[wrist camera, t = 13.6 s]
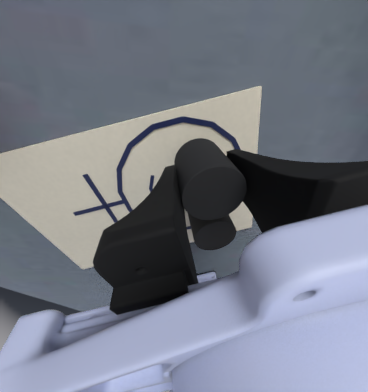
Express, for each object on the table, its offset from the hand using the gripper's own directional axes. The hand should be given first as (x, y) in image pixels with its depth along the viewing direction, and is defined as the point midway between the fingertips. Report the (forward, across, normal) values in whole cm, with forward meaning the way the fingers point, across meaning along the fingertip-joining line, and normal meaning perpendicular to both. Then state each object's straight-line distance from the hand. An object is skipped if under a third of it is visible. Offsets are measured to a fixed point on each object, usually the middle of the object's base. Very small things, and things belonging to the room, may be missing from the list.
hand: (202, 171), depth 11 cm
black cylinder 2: (+3, 0, +6) cm, 6 cm away
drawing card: (+3, +6, +4) cm, 7 cm away
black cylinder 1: (+1, 0, 0) cm, 1 cm away
